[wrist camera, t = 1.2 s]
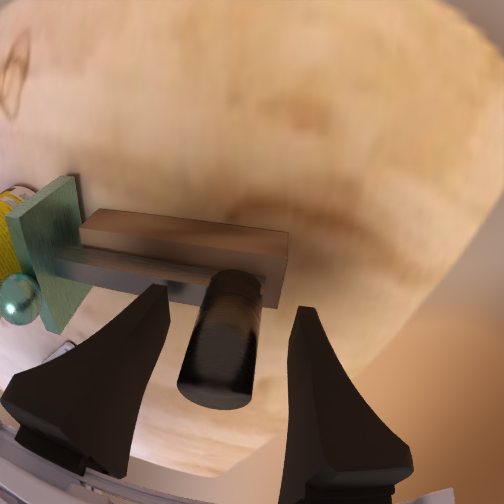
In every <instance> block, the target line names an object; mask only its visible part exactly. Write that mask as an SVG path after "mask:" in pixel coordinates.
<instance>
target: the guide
mask: <svg viewBox="0 0 504 504" xmlns="http://www.w3.org/2000/svg"><path fill="white" fill-rule="evenodd" d="M79 232H80V237H81V242H82V247H83V248H89V249H95V250H101V251H107V252H112V253H118V254H124V255H130V256H136V257H143V258H149V259H155V260H161V261H167V262H174V263H180V264H187V265H193V266H200V267H206V268H213V269H220V270H226V269H238V270H242V271H245V272H248V273H250V274H254V275H261V276H266V281H265V291H264V298H263V304H262V307H266V308H274V309H277V308H278V303H279V298H280V294H281V289H282V285H283V280H284V275H285V270H286V266H287V261H288V233H285V232H278V231H271V230H264V229H257V228H250V227H243V226H235V225H228V224H221V223H213V222H205V221H198V220H190V219H182V218H174V217H166V216H158V215H150V214H141V213H133V212H124V211H115V210H106V209H98V210H97V211H96V212H95V213H94V214H93V215H92V216H90V217H89V218H88V219H87V220H86V221H85V222H84V223H83V224H82V225H81V226H80V227H79Z"/></svg>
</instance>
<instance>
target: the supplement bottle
mask: <svg viewBox="0 0 504 504" xmlns="http://www.w3.org/2000/svg"><path fill="white" fill-rule="evenodd" d="M33 194H35V193H34V192H33V191H31V190H30V189H28V188H25V187H21V186H13V187H10V188H8V189H6V190H5V191H3V192H2V193H0V281H1V280H2V279H3V278H4V277H5V276H7V275H8V274H11V273H14V272H21V273H22V270H21V267H20V264H19V261H18V259H17V256H16V253H15V249H14V246H13V243H12V240H11V236H10V233H9V230H8V226H7V222H6V219H5V215H7V214H8V213H9V212H11V211H12V210H13V209H15V208H16V207H17V206H18V205H20V204H21V203H22V202H24V201H25V200H27V199H28V198H29V197H31V196H32V195H33ZM1 317H2V315H1V314H0V318H1Z"/></svg>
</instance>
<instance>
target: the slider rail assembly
mask: <svg viewBox="0 0 504 504" xmlns="http://www.w3.org/2000/svg"><path fill="white" fill-rule="evenodd" d="M5 219H6V222H7V226H8V230H9V233H10V236H11V240H12V243H13V246H14V249H15V253H16V256H17V259H18V261H19V264H20V267H21V270H22V273H21V272H14V273H11V274H8V275H7V276H5V277H4V278H3V279H2V280H1V281H0V314H1V315H2V317H3V318H4V319H5V320H6V321H8V322H9V323H11V324H14V325H18V326H22V325H27V324H29V323H31V322H32V321H34V320H35V319H36V317H37V316H38V314H39V315H40V317H41V319H42V321H43V323H44V326H45V328H46V330H47V331H50V332H53V333H56V334H59V335H60V334H61V333H62V331H63V330H64V328H65V327H66V325H67V324H68V322H69V321H70V319H71V317H72V316H73V314H74V313H75V311H76V310H77V308H78V307H79V306H80V304H81V303H82V301H83V300H84V298H85V297H86V295H87V294H88V292H89V291H90V290H91V288H92V287H93V285H94V286H98V287H103V288H107V289H112V290H117V291H121V292H126V293H131V294H136V295H140V294H141V293H142V292H144V291H145V290H146V289H147V288H148V287H149V286H150V285H151V284H153V283H154V284H159V285H165V286H167V291H168V301H172V302H178V303H184V304H189V305H195V306H201V307H200V310H199V313H198V316H197V319H196V322H195V326H194V329H193V332H192V335H191V338H190V341H189V345H188V348H187V351H186V354H185V357H184V361H183V364H182V367H181V370H180V374H179V377H178V380H177V388H178V390H179V391H180V393H181V394H182V395H183V396H184V397H186V398H187V399H188V400H190V401H192V402H194V403H196V404H198V405H201V406H204V407H207V408H211V409H217V410H233V409H238V408H242V407H244V406H246V405H247V404H248V403H249V402H250V401H251V399H252V390H253V382H254V374H255V365H256V357H257V348H258V339H259V330H260V321H261V312H262V304H263V298H264V291H265V281H266V276H261V275H254V274H250V273H248V272H245V271H242V270H238V269H226V270H220V269H213V268H206V267H200V266H193V265H187V264H180V263H174V262H167V261H161V260H155V259H149V258H143V257H136V256H130V255H124V254H118V253H112V252H107V251H101V250H95V249H89V248H83V247H82V242H81V237H80V232H79V227H80V226H81V225H82V222H81V216H80V210H79V204H78V197H77V190H76V183H75V177H73V176H60V177H58V178H57V179H55V180H54V181H52V182H51V183H49V184H48V185H46V186H45V187H43V188H42V189H41V190H39V191H38V192H36V193H35V194H33V195H32V196H31V197H29V198H28V199H27V200H25V201H24V202H22V203H21V204H20V205H18V206H17V207H16V208H15V209H13V210H12V211H11V212H9V213H8V214H7V215H5Z"/></svg>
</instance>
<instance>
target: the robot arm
mask: <svg viewBox="0 0 504 504" xmlns="http://www.w3.org/2000/svg"><path fill="white" fill-rule="evenodd" d="M170 322H171V321H170V312H169V302H168V291H167V286H165V285H159V284H154V283H153V284H151V285H150V286H149V287H148V288H147V289H146V290H145V291H144V292H142V293H141V294H140V295H139V296H138V297H137V298H136V299H135V300H134V301H133V302H132V303H131V304H130V305H129V306H127V307H126V308H125V309H124V310H123V311H122V312H121V313H120V314H118V315H117V316H116V317H115V318H114V319H113V320H111V321H110V322H109V323H108V324H106V325H105V326H104V327H103V328H101V329H100V330H99V331H98V332H96V333H95V334H94V335H92V336H91V337H89V338H88V339H86V340H85V341H83V342H82V343H80V344H79V345H77V346H76V347H75V346H74V345H73V344H71V343H69V342H66V343H65V344H64V345H63V346H61V347H60V348H59V349H58V350H56V351H55V352H54V353H53V354H52V355H51V356H49V357H48V358H47V359H46V360H45V361H43V362H42V363H41V365H39V366H37V367H34V368H31V369H29V370H26V371H23V372H20V373H17V374H14V376H13V377H12V379H11V381H10V382H9V384H8V386H7V388H6V389H5V391H4V393H3V395H2V397H1V398H0V402H1V404H2V406H3V407H4V408H5V409H6V411H7V412H8V413H9V414H11V416H12V417H13V418H14V419H15V420H16V421H17V422H18V423H19V424H20V426H18V427H17V428H16V430H15V428H13V427H12V426H8V427H7V426H6V425H4V424H3V423H2V421H1V420H0V504H118V503H116V502H114V501H112V500H111V499H109V498H108V497H105V496H103V495H102V491H103V492H106V493H108V494H111V495H113V496H116V497H119V498H122V499H125V500H128V501H131V502H134V503H137V504H214V503H208V502H203V501H197V500H192V499H188V498H183V497H178V496H174V495H170V494H166V493H162V492H158V491H154V490H151V489H147V488H144V487H140V486H137V485H134V484H131V483H128V482H124V481H121V480H119V479H122V478H124V477H125V476H126V475H127V468H128V467H127V466H128V461H129V455H130V449H131V444H132V439H133V434H134V429H135V425H136V421H137V417H138V413H139V409H140V405H141V402H142V398H143V395H144V392H145V389H146V386H147V384H148V381H149V379H150V376H151V374H152V372H153V369H154V367H155V365H156V362H157V360H158V357H159V355H160V353H161V350H162V348H163V346H164V343H165V340H166V336H167V333H168V329H169V326H170ZM287 374H288V403H289V420H288V432H287V443H286V453H285V461H284V468H283V476H282V482H281V489H280V495H279V501H278V504H392V498H391V495H393V494H394V493H395V486H394V485H395V484H397V483H399V482H401V481H402V480H404V479H406V478H407V477H409V476H410V475H411V474H412V473H413V471H414V467H413V460H412V455H411V452H410V449H409V446H408V445H407V444H406V443H404V442H403V441H402V440H401V439H400V438H399V437H398V436H397V435H396V434H394V433H393V432H392V431H391V430H390V429H389V428H388V427H387V426H386V425H385V424H384V423H383V422H382V421H381V419H380V418H379V417H378V416H377V415H376V414H375V412H374V411H373V410H372V409H371V408H370V406H369V405H368V404H367V403H366V402H365V400H364V399H363V397H362V396H361V395H360V393H359V392H358V391H357V389H356V388H355V386H354V385H353V384H352V382H351V380H350V379H349V377H348V375H347V374H346V372H345V370H344V369H343V367H342V365H341V363H340V362H339V360H338V358H337V356H336V354H335V352H334V350H333V348H332V346H331V344H330V342H329V340H328V338H327V336H326V333H325V331H324V329H323V326H322V324H321V322H320V319H319V316H318V314H317V311H316V309H315V308H313V307H305V306H299V307H298V310H297V314H296V317H295V321H294V324H293V328H292V331H291V335H290V338H289V345H288V358H287ZM395 504H455V500H454V492H453V488H448V489H444V490H440V491H436V492H432V493H429V494H425V495H423V496H420V497H418V498H416V499H415V500H411V501H406V502H400V503H395Z"/></svg>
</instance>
